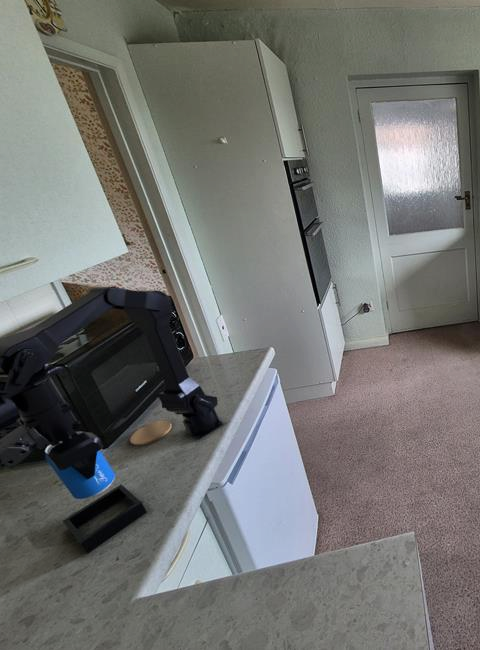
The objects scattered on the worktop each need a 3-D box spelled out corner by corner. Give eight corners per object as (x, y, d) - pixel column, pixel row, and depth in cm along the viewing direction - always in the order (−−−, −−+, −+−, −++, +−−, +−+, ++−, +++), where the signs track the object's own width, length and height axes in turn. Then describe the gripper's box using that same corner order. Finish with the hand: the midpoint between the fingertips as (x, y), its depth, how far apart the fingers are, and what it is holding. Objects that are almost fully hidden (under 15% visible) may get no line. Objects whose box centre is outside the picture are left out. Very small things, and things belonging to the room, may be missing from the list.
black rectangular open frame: (127, 493, 83) (121, 484, 82) (147, 512, 79) (141, 502, 77) (69, 530, 76) (62, 520, 75) (87, 553, 71) (80, 543, 70)
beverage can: (92, 503, 72) (59, 457, 67) (66, 499, 74) (32, 454, 68) (125, 475, 78) (96, 431, 73) (100, 472, 79) (70, 428, 74)
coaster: (162, 418, 107) (161, 416, 107) (178, 427, 103) (177, 426, 103) (124, 438, 101) (123, 437, 100) (139, 450, 96) (138, 448, 96)
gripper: (-39, 418, 66) (12, 483, 72) (-12, 455, 56) (43, 526, 63) (47, 383, 74) (86, 444, 81) (83, 410, 65) (123, 476, 71)
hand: (84, 470), depth 74 cm, fingers closed on beverage can, 6 cm apart
